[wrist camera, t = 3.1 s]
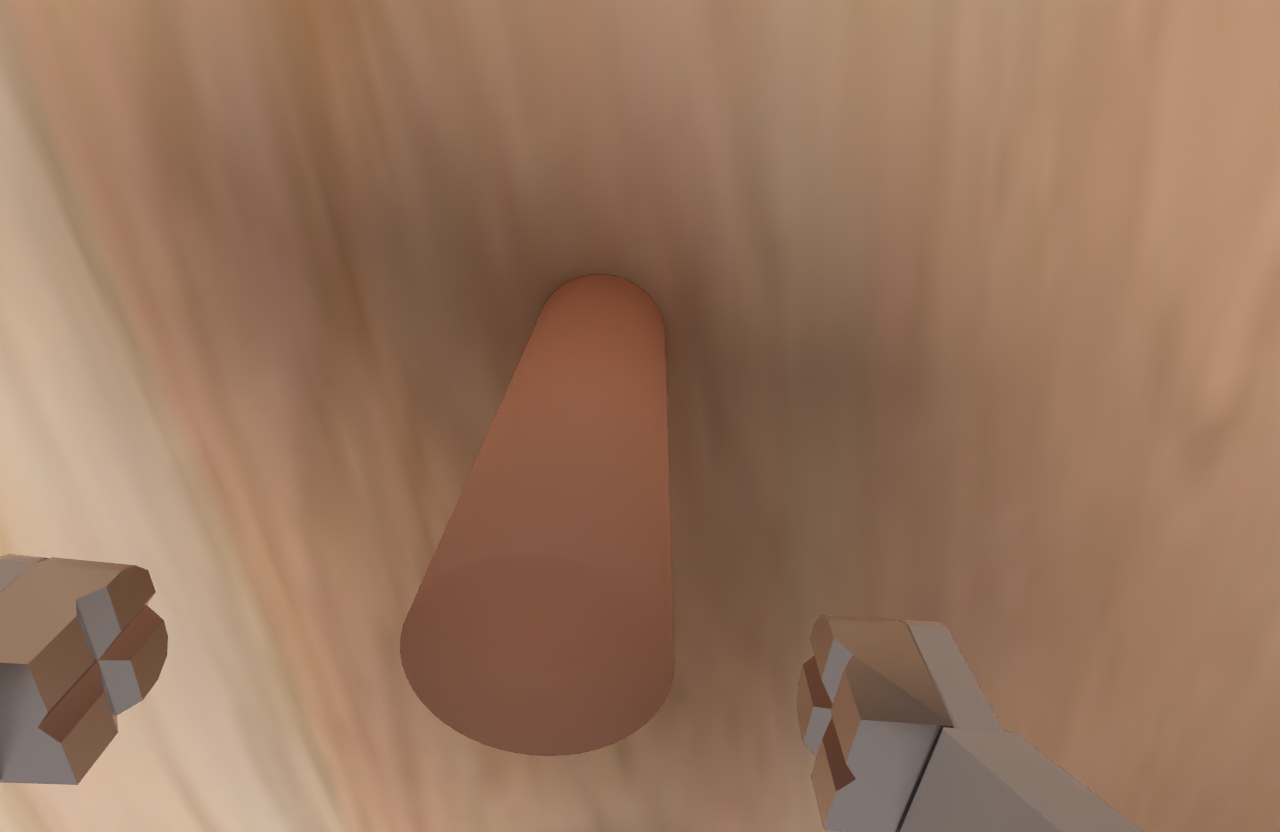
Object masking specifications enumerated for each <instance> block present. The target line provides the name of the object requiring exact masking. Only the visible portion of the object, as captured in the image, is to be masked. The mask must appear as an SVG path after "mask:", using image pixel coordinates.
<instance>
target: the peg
mask: <svg viewBox="0 0 1280 832" xmlns="http://www.w3.org/2000/svg"><path fill="white" fill-rule="evenodd" d="M400 653H401V660H402V665H403V668H404V671H405V674H406V677H407V679H408V681H409V683H410V685H411V687H412V689H413V690H414V692H415V693H416V695H417V696H418V697H419V699H420V700H421V701H422V703H423V704H424V705H425V706H426V707H427V708H428V709H429V710H430V711H431V712H432V713H433V714H434V715H435V716H437V717H438V718H439V719H440V720H441V721H442V722H444V723H445V724H447V725H448V726H450V727H451V728H453V729H454V730H456V731H458V732H459V733H461V734H463V735H465V736H467V737H469V738H471V739H473V740H475V741H478V742H480V743H483V744H485V745H488V746H491V747H494V748H498V749H501V750H506V751H510V752H514V753H521V754H528V755H542V756H556V755H570V754H577V753H583V752H588V751H592V750H596V749H599V748H602V747H605V746H608V745H611V744H613V743H615V742H617V741H620V740H622V739H624V738H626V737H627V736H629V735H630V734H632V733H634V732H635V731H637V730H638V729H639V728H641V727H642V726H643V725H644V724H646V723H647V722H648V721H649V720H650V719H651V718H652V717H653V716H654V715H655V713H656V712H657V711H658V710H659V708H660V707H661V705H662V704H663V702H664V701H665V699H666V696H667V694H668V692H669V690H670V687H671V683H672V680H673V674H674V633H673V597H672V562H671V526H670V490H669V455H668V419H667V383H666V347H665V328H664V323H663V319H662V317H661V314H660V312H659V310H658V308H657V306H656V304H655V303H654V302H653V300H652V299H651V298H650V297H649V296H648V295H647V293H646V292H644V291H643V290H642V289H641V288H640V287H638V286H637V285H635V284H633V283H632V282H630V281H627V280H625V279H623V278H620V277H616V276H611V275H603V274H595V275H587V276H582V277H579V278H576V279H573V280H571V281H569V282H567V283H565V284H564V285H563V286H561V287H560V288H558V289H557V290H556V291H555V292H554V293H553V294H552V295H551V296H550V298H549V299H548V300H547V302H546V304H545V305H544V307H543V309H542V311H541V314H540V316H539V318H538V320H537V323H536V325H535V327H534V329H533V332H532V334H531V336H530V338H529V341H528V343H527V345H526V348H525V350H524V352H523V354H522V357H521V359H520V361H519V363H518V366H517V368H516V370H515V372H514V375H513V377H512V379H511V381H510V384H509V386H508V388H507V391H506V393H505V395H504V397H503V400H502V402H501V404H500V406H499V409H498V411H497V413H496V415H495V418H494V420H493V422H492V425H491V427H490V429H489V431H488V434H487V436H486V438H485V440H484V443H483V445H482V447H481V449H480V452H479V454H478V456H477V458H476V461H475V463H474V465H473V468H472V470H471V472H470V474H469V477H468V479H467V481H466V483H465V486H464V488H463V490H462V492H461V495H460V497H459V499H458V501H457V504H456V506H455V508H454V511H453V513H452V515H451V517H450V520H449V522H448V524H447V526H446V529H445V531H444V533H443V535H442V538H441V540H440V542H439V544H438V547H437V549H436V551H435V554H434V556H433V558H432V560H431V563H430V565H429V567H428V569H427V572H426V574H425V576H424V578H423V581H422V583H421V585H420V587H419V590H418V592H417V594H416V597H415V599H414V601H413V603H412V606H411V608H410V610H409V612H408V615H407V617H406V620H405V622H404V624H403V629H402V633H401V640H400Z"/></svg>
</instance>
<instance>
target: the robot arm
mask: <svg viewBox="0 0 1280 832" xmlns="http://www.w3.org/2000/svg"><path fill="white" fill-rule="evenodd" d="M155 592H156V591H155V589H154V586H153V583H152V580H151V577H150V574H149V571H148V570H146V569H143V568H141V567H138V566H136V565H126V564H115V563H105V562H95V561H84V560H74V559H63V558H42V557H33V556H23V555H13V554H8V555H5V556H1V557H0V782H7V783H39V784H70V785H78V784H79V782H80V781H81V780H82V778H83V777H84V776H85V775H86V773H87V772H88V771H89V769H90V768H91V767H92V765H93V764H94V763H95V762H96V760H97V759H98V758H99V756H100V755H101V754H102V753H103V751H104V750H105V749H106V747H107V746H108V745H109V743H110V742H111V741H112V740H113V738H114V737H115V736H116V734H117V733H118V725H117V715H118V714H120V713H122V712H123V711H125V710H127V709H128V708H130V707H132V706H134V705H135V704H137V703H139V702H140V701H142V700H143V699H144V698H145V696H146V695H147V694H148V692H149V691H150V690H151V688H152V687H153V686H154V684H155V683H156V681H157V680H158V678H159V675H160V673H161V670H162V667H163V665H164V662H165V659H166V657H167V644H168V635H167V631H166V627H165V623H164V620H163V619H162V618H160V617H159V616H158V615H157V614H156V613H155V612H154V611H153V610H152V609H150V608H149V607H148V606H147V604H148V602H149V601H150V599H151V598H152V597H153V595H154V594H155ZM810 640H811V644H812V647H813V651H814V654H815V656H814V657H812V658H811V659H810V660H809V661H807V662H806V663H805V664H803V667H802V671H801V676H800V680H799V684H798V704H797V708H798V718H799V726H800V730H801V735H802V740H803V743H804V744H805V745H806V746H807V747H808V748H809V750H810V751H811V752H812V753H813V754H814V755H815V756H816V757H817V758H816V761H815V765H814V768H813V771H812V775H811V778H812V783H813V787H814V791H815V795H816V799H817V803H818V807H819V811H820V816H821V820H822V824H823V828H824V830H833V831H844V832H1143V831H1141V830H1140V829H1139V828H1138V827H1136V826H1135V825H1134V824H1132V823H1131V822H1130V821H1129V820H1127V819H1126V818H1125V817H1124V816H1122V815H1121V814H1120V813H1118V812H1117V811H1116V810H1115V809H1113V808H1112V807H1111V806H1110V805H1108V804H1107V803H1106V802H1104V801H1103V800H1102V799H1101V798H1099V797H1098V796H1097V795H1095V794H1094V793H1093V792H1092V791H1090V790H1089V789H1088V788H1087V787H1085V786H1084V785H1083V784H1081V783H1080V782H1079V781H1078V780H1076V779H1075V778H1074V777H1073V776H1071V775H1070V774H1069V773H1067V772H1066V771H1065V770H1064V769H1062V768H1061V767H1060V766H1058V765H1057V764H1056V763H1055V762H1053V761H1052V760H1051V759H1050V758H1048V757H1047V756H1046V755H1044V754H1043V753H1042V752H1041V751H1039V750H1038V749H1037V748H1036V747H1034V746H1033V745H1032V744H1030V743H1029V742H1028V741H1027V740H1025V739H1024V738H1023V737H1021V736H1020V735H1019V734H1018V733H1013V732H1004V731H1003V729H1002V727H1001V725H1000V723H999V722H998V720H997V718H996V716H995V714H994V712H993V710H992V709H991V707H990V705H989V703H988V701H987V699H986V698H985V696H984V694H983V692H982V690H981V688H980V686H979V685H978V683H977V681H976V679H975V677H974V675H973V674H972V672H971V670H970V668H969V666H968V664H967V662H966V661H965V659H964V657H963V655H962V653H961V651H960V650H959V648H958V646H957V644H956V642H955V640H954V638H953V637H952V635H951V633H950V631H949V629H948V628H947V627H946V626H945V625H944V624H942V623H941V622H937V621H918V620H899V621H897V620H890V619H875V618H859V617H844V616H829V615H820V616H819V617H818V619H817V620H816V622H815V623H814V627H813V630H812V634H811V637H810Z"/></svg>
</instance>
